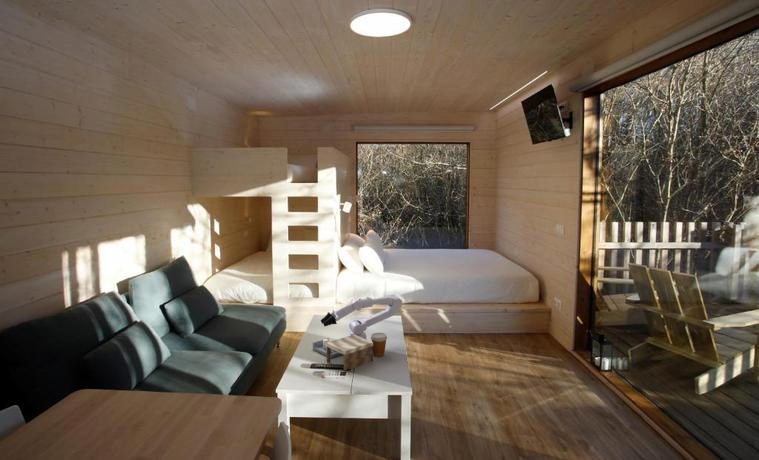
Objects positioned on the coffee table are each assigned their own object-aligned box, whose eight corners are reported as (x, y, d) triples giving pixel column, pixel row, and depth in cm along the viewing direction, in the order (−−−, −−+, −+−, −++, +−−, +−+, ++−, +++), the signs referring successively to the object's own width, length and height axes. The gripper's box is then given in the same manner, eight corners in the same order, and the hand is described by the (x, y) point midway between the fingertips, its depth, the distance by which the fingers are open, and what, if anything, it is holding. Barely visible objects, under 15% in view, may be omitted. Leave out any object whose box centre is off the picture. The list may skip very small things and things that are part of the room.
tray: (327, 344, 276) (327, 335, 275) (345, 353, 263) (345, 343, 262) (312, 349, 268) (312, 339, 268) (330, 358, 255) (330, 348, 255)
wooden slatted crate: (354, 352, 264) (354, 334, 263) (373, 361, 252) (373, 342, 250) (326, 361, 250) (326, 342, 249) (344, 371, 238) (344, 351, 237)
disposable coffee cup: (385, 359, 254) (385, 338, 253) (369, 357, 256) (369, 337, 255) (388, 352, 264) (388, 333, 262) (372, 351, 266) (372, 331, 264)
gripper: (337, 304, 273) (317, 315, 269) (342, 308, 259) (321, 320, 255) (342, 314, 274) (322, 325, 270) (348, 319, 260) (327, 330, 256)
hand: (322, 323), depth 263 cm, fingers open, 7 cm apart
